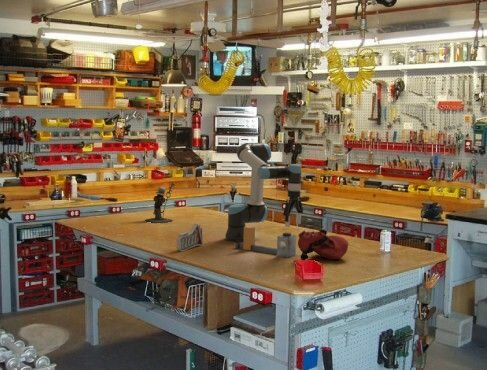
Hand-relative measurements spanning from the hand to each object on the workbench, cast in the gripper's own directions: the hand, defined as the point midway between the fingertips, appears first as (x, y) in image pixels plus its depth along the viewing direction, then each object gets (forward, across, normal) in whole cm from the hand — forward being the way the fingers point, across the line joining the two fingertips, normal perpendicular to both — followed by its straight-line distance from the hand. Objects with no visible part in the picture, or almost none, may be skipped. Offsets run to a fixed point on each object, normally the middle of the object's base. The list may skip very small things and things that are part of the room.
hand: (292, 225), depth 367 cm
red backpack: (+17, +2, +21) cm, 27 cm away
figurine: (+20, -36, -139) cm, 145 cm away
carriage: (+17, +8, -26) cm, 32 cm away
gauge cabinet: (+17, +8, +1) cm, 19 cm away
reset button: (+9, +8, 0) cm, 12 cm away
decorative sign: (+18, +28, -56) cm, 65 cm away
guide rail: (+17, +8, -18) cm, 26 cm away
